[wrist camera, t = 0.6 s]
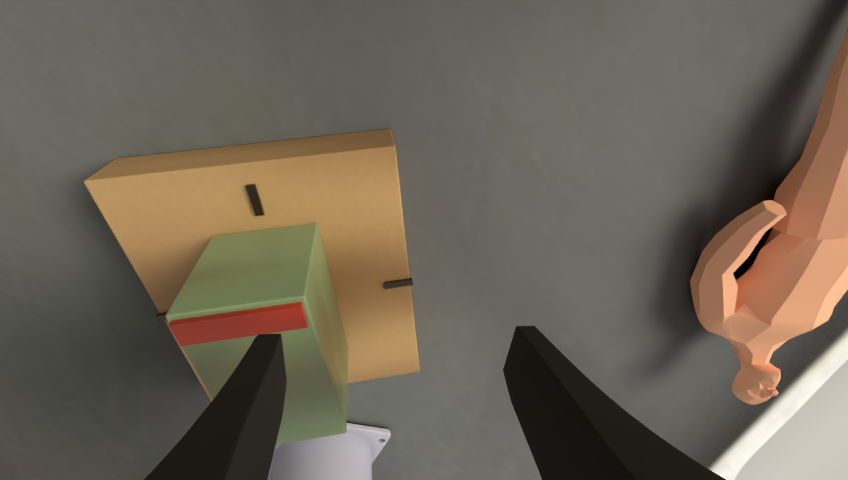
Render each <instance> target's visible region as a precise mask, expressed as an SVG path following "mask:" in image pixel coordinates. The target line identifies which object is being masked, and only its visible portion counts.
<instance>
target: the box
mask: <svg viewBox="0 0 848 480" xmlns="http://www.w3.org/2000/svg"><path fill="white" fill-rule="evenodd" d="M166 319H167V321H168V322H169V327H170V329H171V331H172V333H173V334H174V336H175V338H176V339H177V341H178V343H179V345H180V346H181V347H183V348H184V350H185V352H186V354H187V355H188V357H189V359H190V361H191V362H192V364H193V366H194V368H195V369H196V371H197V373H198V374H199V376H200V378H201V380H202V381H203V383H204V385H205V387H206V388H207V390H208V392H209V394H210V395H211V397H212V399H214V398H215V397H216V395H217V394H218V392H219V391H220V390H221V388H222V387H223V385H224V384H225V383H226V381H227V380H228V379H229V377H230V376H231V374H232V373H233V371H234V370H235V369H236V367H237V366H238V364H239V363H240V361H241V360H242V358H243V357H244V355H245V353H246V352H247V350H248V349H249V347H250V345H251V344H252V342H253V340H254V339H255V337H256V336H257V335H259V334H281V336H282V344H283V353H284V361H285V369H286V378H287V384H286V392H285V400H284V408H283V415H282V420H281V424H280V429H279V433H278V437H277V441H276V445H280V444H286V443H292V442H298V441H304V440H309V439H315V438H321V437H327V436H333V435H338V434H344V433H346V425H347V384H348V345H347V341H346V336H345V332H344V328H343V324H342V320H341V316H340V312H339V308H338V304H337V300H336V296H335V292H334V288H333V284H332V280H331V276H330V272H329V268H328V263H327V259H326V255H325V251H324V247H323V243H322V239H321V235H320V231H319V227H318V224H317V223H314V224H306V225H298V226H290V227H283V228H275V229H267V230H259V231H251V232H243V233H235V234H227V235H220V236H213V237H212V238H211V239H210V241H209V243H208V244H207V246H206V248H205V250H204V251H203V253H202V255H201V256H200V258H199V260H198V261H197V263H196V265H195V266H194V268H193V270H192V272H191V273H190V275H189V277H188V278H187V280H186V282H185V283H184V285H183V287H182V288H181V290H180V292H179V293H178V295H177V297H176V299H175V300H174V302H173V304H172V305H171V307H170V309H169V310H168V312H167V314H166Z"/></svg>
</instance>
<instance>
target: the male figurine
mask: <svg viewBox="0 0 848 480" xmlns="http://www.w3.org/2000/svg"><path fill="white" fill-rule="evenodd" d="M770 228H773V230H772V231H771V233H770V235H769V237H768V239H767V241H766V243H765V245H764V246H763V248H762V249H761V250H760V251H759V253H758V256H757V258H756V260H755V262H754V264H753V265H752V266H751V267H750V268H749V269H748V270H747V271H745V272H744V273H743V274H742V275H741V276H740V277H739V278H738V279H737V280H735V277H734V274H733V273H734V272H735V270H736V269H737V268H738V267H739V266H740V265H741V264H742V263H743V262H744V261H745V260H746V259H747V258H748V257H749V256H750V254H751V253H752V251H753V250H754V248H755V247H756V245H757V244H758V242H759V241H760V239H761V238H762V236H763V234H764V233H765V232H766V231H767V230H768V229H770ZM690 285H691V293H692V298H693V303H694V308H695V311H696V314H697V317H698V319H699V321H700V323H701V324H702V325H703V327H704V328H705V329H706V330H707V331H709V332H712V333H715V334H717V335H720V336H723V337H724V338H726V339H727V340H728V341H729V342H731V343H732V344H733V345H734V353H735V355H736V356H737V357H738V358H739V360H740V364H741V369H740V371H739V372H738V374H737V375H736V377H735V379H734V381H733V385H732V391H733V394H735V395H736V396H737V397H738V398H739V399H741V400H742V401H744V402H746V403H748V404H752V405H755V404H759V403H762V402H764V401H767V400H768V399H769V398H770V397H772V396H777V395H778V391H777V390H776V389H775V387H776V386H777V384H778V383H779V380H780V369H778V368H776V367H774V366H773V365H772V364H770V363H769V360H770V358H771V356H772V353H773V352H774V351H775V350H776V349H777V348H778V347H780V346H781V345H782V344H783V343H785V342H786V341H787V340H788V339H791V338H793V337H796V336H798V335H801V334H803V333H806V332H808V331H811V330H813V329H814V328H816V327H818V326H820V325H821V324H823V323H825V322H826V321H828V320H829V318H830V316H831V314H832V312H833V308H834V307H835V305H836V304H837V303H838V301H839V300H840V299H841V297H842V296H843V295H844V293H845V292H846V291H847V289H848V29H847V31H846V34H845V36H844V39H843V41H842V44H841V46H840V49H839V52H838V54H837V57H836V59H835V62H834V64H833V67H832V69H831V72H830V74H829V77H828V80H827V83H826V87H825V90H824V93H823V97H822V100H821V104H820V107H819V111H818V114H817V117H816V121H815V124H814V126H813V129H812V131H811V134H810V136H809V139H808V141H807V144H806V146H805V149H804V151H803V154H802V156H801V159H800V160H799V161H798V163H797V164H796V165H795V166H794V168H793V169H792V170H791V172H790V173H789V174H788V175H787V177H786V178H785V179H784V180H783V182H782V183H781V184H780V186H779V187H778V188H777V189H776V193H775V196H774V200H773V201H772V200H767V201H762V202H761V203H759V204H757V205H756V206H754V207H752V208H751V209H749V210H747V211H745V212H744V213H742V214H740V215H739V216H737V217H736V218H735V219H734V220H732V221H731V222H730V223H729V224H728V225H726V226H725V227H724V228H723V229H722V230H720V231H719V232H718V233H717V234H716V235H715V236H714V237H713V238H712V240H711V241H710V242H709V243H708V245H707V246H706V247H705V249H704V250H703V251H702V253H701V255H700V258H699V260H698V263H697V265H696V268H695V270H694V272H693V275H692V277H691V280H690Z"/></svg>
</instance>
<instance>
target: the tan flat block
mask: <svg viewBox="0 0 848 480" xmlns="http://www.w3.org/2000/svg"><path fill="white" fill-rule="evenodd" d="M84 184H85V186H86V187H87V189H88V191H89V192H90V194H91V196H92V198H93V199H94V201H95V203H96V204H97V206H98V208H99V210H100V211H101V213H102V215H103V216H104V218H105V220H106V222H107V223H108V225H109V227H110V228H111V230H112V232H113V234H114V235H115V237H116V239H117V240H118V242H119V244H120V246H121V247H122V249H123V251H124V252H125V254H126V256H127V258H128V259H129V261H130V263H131V264H132V266H133V268H134V270H135V271H136V273H137V275H138V277H139V278H140V280H141V282H142V283H143V285H144V287H145V289H146V290H147V292H148V294H149V295H150V297H151V299H152V301H153V302H154V304H155V306H156V307H157V309H158V311H159V313H160V314H157V315H156V318H157V319H158V321H165V323H166V325H167V326H168V328H169V330H170V331H171V329H170V327H169V322H168V321H167V319H166V314H167V312H168V310H169V309H170V307H171V305H172V304H173V302H174V300H175V299H176V297H177V295H178V293H179V292H180V290H181V288H182V287H183V285H184V283H185V282H186V280H187V278H188V277H189V275H190V273H191V272H192V270H193V268H194V266H195V265H196V263H197V261H198V260H199V258H200V256H201V255H202V253H203V251H204V250H205V248H206V246H207V244H208V243H209V241H210V239H211V238H212V237H213V236H220V235H227V234H235V233H243V232H251V231H259V230H267V229H275V228H283V227H290V226H298V225H306V224H314V223H317V224H318V227H319V231H320V235H321V239H322V243H323V247H324V251H325V255H326V259H327V263H328V268H329V272H330V276H331V280H332V284H333V288H334V292H335V296H336V300H337V304H338V308H339V312H340V316H341V320H342V324H343V328H344V332H345V336H346V341H347V345H348V383H353V382H359V381H365V380H371V379H378V378H384V377H390V376H396V375H402V374H408V373H415V372H419V371H420V368H419V359H418V349H417V340H416V331H415V322H414V312H413V303H412V294H411V285H413V283H412V278H410V276H409V266H408V257H407V248H406V239H405V229H404V220H403V211H402V202H401V193H400V183H399V174H398V165H397V156H396V147H395V143H394V139H393V135H392V131H391V129H383V130H374V131H365V132H356V133H346V134H337V135H328V136H319V137H309V138H300V139H291V140H282V141H273V142H263V143H254V144H245V145H236V146H226V147H217V148H208V149H199V150H190V151H180V152H171V153H162V154H153V155H143V156H134V157H125V158H116V159H115V160H113V161H112V162H111V163H109V164H108V165H106V166H105V167H103V168H102V169H100V170H99V171H98V172H96V173H95V174H93V175H92V176H90V177H89V178H87V179H86V180H85V181H84ZM171 333H172V331H171ZM172 335H173V337H174V338H175V336H174V334H173V333H172ZM175 340H176V342H177V343H178V341H177V339H176V338H175ZM178 345H179V343H178ZM179 347H180V349H181V350H182V352H183V354H184V355H185V357H186V359H187V361H188V362H189V364H190V366H191V367H192V369H193V371H194V373H195V374H196V376H197V378H198V379H199V381H200V383H201V385H202V386H203V388H204V390H205V391H206V393H207V395H208V397H209V398H210V400H211V402H212V401H213V399H212V397H211V395H210V394H209V392H208V390H207V388H206V387H205V385H204V383H203V381H202V380H201V378H200V376H199V374H198V373H197V371H196V369H195V368H194V366H193V364H192V362H191V361H190V359H189V357H188V355H187V354H186V352H185V350H184V348H183V347H181V346H180V345H179Z"/></svg>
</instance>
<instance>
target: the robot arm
mask: <svg viewBox="0 0 848 480" xmlns="http://www.w3.org/2000/svg"><path fill="white" fill-rule="evenodd" d="M503 371H504V375H505V379H506V384H507V387H508V391H509V395H510V398H511V402H512V404H513V407H514V410H515V412H516V415H517V417H518V420H519V422H520V425H521V427H522V430H523V432H524V435H525V437H526V440H527V442H528V445H529V447H530V450H531V452H532V455H533V457H534V460H535V462H536V465H537V467H538V470H539V472H540V475H541V478H542V480H725V479H724V478H722V477H720V476H719V475H717V474H715V473H714V472H712V471H710V470H709V469H707V468H706V467H704V466H702V465H701V464H699V463H698V462H696V461H694V460H693V459H691V458H690V457H688V456H687V455H685V454H684V453H682V452H681V451H679V450H678V449H676V448H675V447H673V446H672V445H671V444H669V443H668V442H666V441H665V440H663V439H662V438H660V437H659V436H658V435H656V434H655V433H653V432H652V431H651V430H649V429H648V428H647V427H646V426H644V425H643V424H642V423H640V422H639V421H638V420H636V419H635V418H634V417H632V416H631V415H630V414H629V413H627V412H626V411H625V410H624V409H622V408H621V407H620V406H619V405H618V404H616V403H615V402H614V401H613V400H612V399H611V398H609V397H608V396H607V395H606V394H605V393H604V392H602V391H601V390H600V389H599V388H598V387H597V386H596V385H595V384H593V383H592V382H591V381H590V380H589V379H588V378H587V377H586V376H585V375H584V374H583V373H582V372H581V371H580V370H578V369H577V368H576V367H575V366H574V365H573V364H572V363H571V362H570V361H569V360H568V359H567V358H566V357H565V356H564V355H563V354H562V353H561V352H560V351H559V350H558V349H557V348H556V347H555V346H554V345H553V344H552V343H551V342H550V341H549V340H548V339H547V338H546V337H545V336H544V335H543V334H542V333H541V332H540V331H539V330H538V329H537V328H536V327H535V326H516V329H515V332H514V336H513V339H512V342H511V346H510V349H509V352H508V356H507V359H506V362H505V366H504V369H503ZM286 384H287V378H286V369H285V361H284V353H283V344H282V336H281V334H259V335H257V336H256V337H255V339H254V340H253V342H252V344H251V345H250V347H249V349H248V350H247V352H246V353H245V355H244V357H243V358H242V360H241V361H240V363H239V364H238V366H237V367H236V369H235V370H234V371H233V373H232V374H231V376H230V377H229V379H228V380H227V381H226V383H225V384H224V385H223V387H222V388H221V390H220V391H219V392H218V394H217V395H216V397H215V398H214V399H213V401H212V402H211V403H210V404H209V406H208V407H207V408H206V409H205V411H204V412H203V413H202V414H201V416H200V417H199V418H198V419H197V421H196V422H195V423H194V424H193V426H192V427H191V428H190V429H189V431H188V432H187V433H186V434H185V435H184V436H183V438H182V439H181V440H180V441H179V442H178V443H177V444H176V446H175V447H174V448H173V449H172V450H171V451H170V452H169V453H168V455H167V456H166V457H165V458H164V459H163V460H162V461H161V462H160V463H159V464H158V465H157V467H156V468H155V469H154V470H153V471H152V472H151V473H150V474H149V475H148V476H147V477H146V478H145V479H144V480H372V463H373V461H374V460H375V458H376V457H377V455H378V454H379V453H380V451H381V450H382V448H383V447H384V445H385V444H386V442H387V441H388V440H389V438H390V436H391V435H390V430H388V429H385V428H378V427H371V426H365V425H358V424H352V423H347V425H346V433H344V434H338V435H333V436H327V437H321V438H315V439H309V440H304V441H298V442H292V443H286V444H280V445H276V441H277V437H278V433H279V429H280V424H281V420H282V415H283V408H284V400H285V392H286Z"/></svg>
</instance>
